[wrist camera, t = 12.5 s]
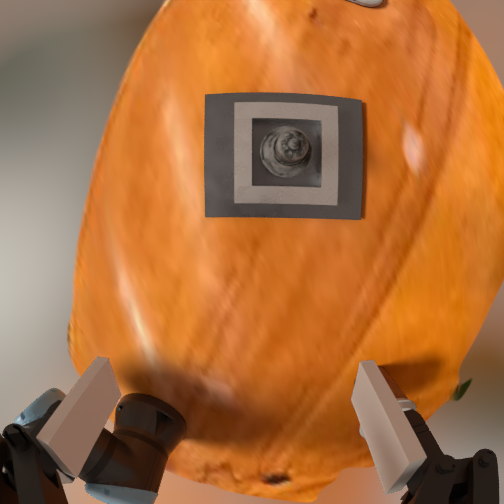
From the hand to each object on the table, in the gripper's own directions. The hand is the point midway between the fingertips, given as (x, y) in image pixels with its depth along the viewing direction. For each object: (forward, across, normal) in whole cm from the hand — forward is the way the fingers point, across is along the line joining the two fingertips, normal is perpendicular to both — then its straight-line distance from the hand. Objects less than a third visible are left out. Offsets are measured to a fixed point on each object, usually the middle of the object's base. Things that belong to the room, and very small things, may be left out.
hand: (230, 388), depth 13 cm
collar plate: (+25, -5, -13) cm, 29 cm away
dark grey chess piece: (+24, -5, -13) cm, 28 cm away
